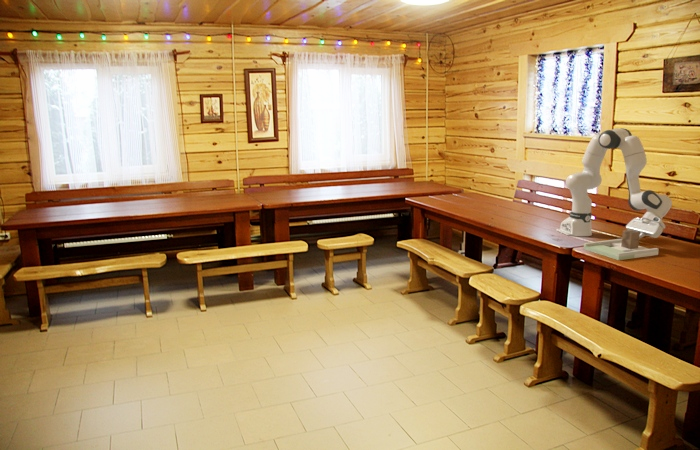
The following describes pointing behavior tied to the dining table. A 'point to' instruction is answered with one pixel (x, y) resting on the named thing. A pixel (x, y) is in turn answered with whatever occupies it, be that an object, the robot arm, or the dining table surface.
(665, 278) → the dining table surface
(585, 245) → the board
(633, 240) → the walnut block
